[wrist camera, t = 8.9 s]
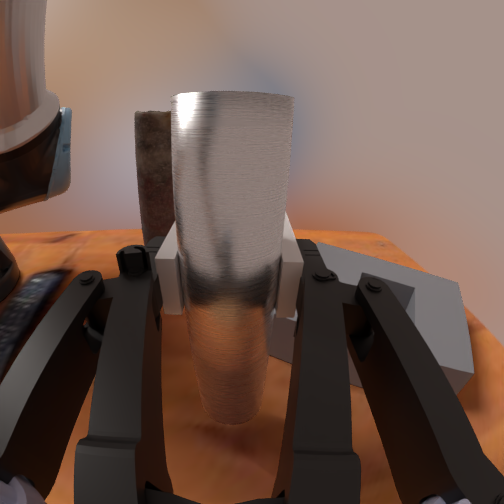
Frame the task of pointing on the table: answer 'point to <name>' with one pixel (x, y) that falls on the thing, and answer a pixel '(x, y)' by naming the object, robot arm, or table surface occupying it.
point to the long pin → (230, 237)
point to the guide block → (414, 303)
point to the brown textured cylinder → (154, 172)
